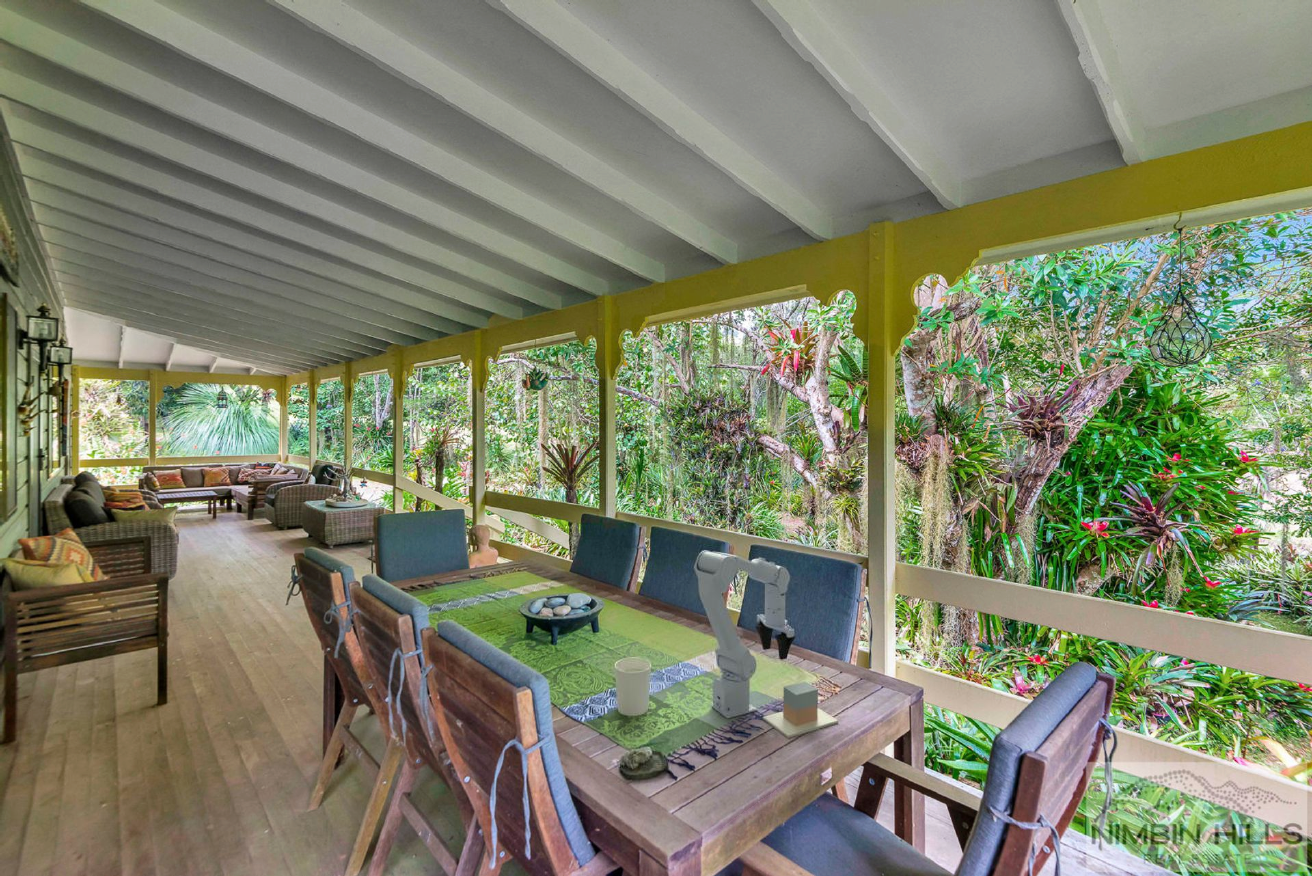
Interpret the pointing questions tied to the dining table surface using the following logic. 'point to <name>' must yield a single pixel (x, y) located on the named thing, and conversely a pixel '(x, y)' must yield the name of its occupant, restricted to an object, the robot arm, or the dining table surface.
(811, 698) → the slate brick
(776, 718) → the baseboard
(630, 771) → the dark green oval dish
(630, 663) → the candle holder
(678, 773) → the dining table surface
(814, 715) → the terracotta brick
